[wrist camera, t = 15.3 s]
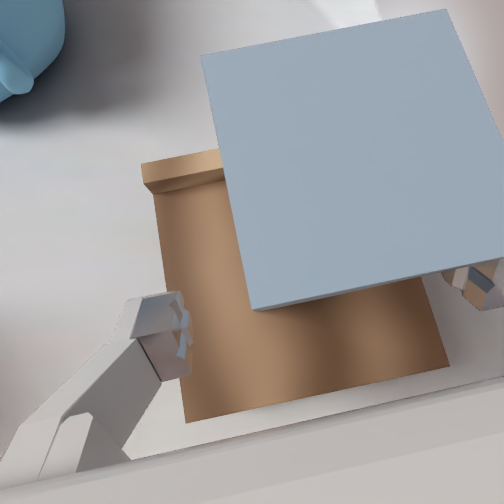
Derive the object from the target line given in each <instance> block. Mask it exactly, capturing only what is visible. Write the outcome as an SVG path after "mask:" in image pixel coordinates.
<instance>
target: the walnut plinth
mask: <svg viewBox="0 0 504 504" xmlns="http://www.w3.org/2000/svg"><path fill="white" fill-rule="evenodd" d="M141 169H142V177H143V184H144V185H145V186H146V187H147V188H148V189H149V190H150V191H151V193H152V194H153V197H154V204H155V211H156V218H157V225H158V232H159V239H160V246H161V253H162V260H163V267H164V274H165V281H166V288H167V292H170V291H175V290H179V291H180V292H181V294H182V296H183V299H184V309H186V310H187V311H189V314H190V317H191V321H192V325H193V334H194V335H193V343H192V344H191V346H190V349H191V351H192V354H193V359H192V375H188V376H184V377H180V378H179V379H180V386H181V393H182V400H183V407H184V414H185V421H186V423H190V422H195V421H200V420H204V419H209V418H214V417H218V416H223V415H227V414H232V413H237V412H241V411H246V410H250V409H255V408H260V407H264V406H269V405H274V404H278V403H283V402H287V401H292V400H297V399H301V398H306V397H311V396H315V395H320V394H324V393H329V392H334V391H338V390H343V389H347V388H352V387H357V386H361V385H366V384H371V383H375V382H380V381H384V380H389V379H394V378H398V377H403V376H407V375H412V374H417V373H421V372H426V371H431V370H435V369H440V368H444V367H449V366H450V365H449V362H448V359H447V356H446V353H445V350H444V347H443V344H442V341H441V338H440V335H439V331H438V328H437V325H436V322H435V319H434V316H433V313H432V310H431V307H430V304H429V301H428V298H427V295H426V292H425V289H424V286H423V283H422V280H421V277H420V276H419V277H415V278H411V279H406V280H402V281H397V282H393V283H389V284H384V285H380V286H376V287H371V288H367V289H362V290H358V291H354V292H349V293H345V294H340V295H336V296H331V297H326V298H322V299H317V300H312V301H307V302H303V303H298V304H293V305H288V306H284V307H279V308H274V309H269V310H265V311H260V312H256V311H254V310H252V308H251V303H250V299H249V294H248V289H247V284H246V279H245V274H244V269H243V264H242V259H241V254H240V249H239V244H238V239H237V234H236V229H235V224H234V219H233V214H232V209H231V204H230V199H229V194H228V190H227V185H226V180H225V175H224V170H223V165H222V160H221V155H220V150H219V149H214V150H209V151H204V152H199V153H194V154H189V155H184V156H179V157H173V158H168V159H163V160H158V161H153V162H148V163H143V164H141Z"/></svg>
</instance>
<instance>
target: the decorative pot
mask: <svg viewBox="0 0 504 504" xmlns="http://www.w3.org/2000/svg"><path fill="white" fill-rule="evenodd" d="M64 38H65V16H64V8H63V3H62V0H0V102H2V101H3V100H5V99H7V98H8V97H10V96H11V95H13V94H24V93H27V92H29V91H30V90H31V89H32V87H33V84H34V79H35V78H36V77H37V76H38V75H39V74H41V73H42V72H43V71H44V70H45V69H46V68H47V67H48V66H49V65H50V64H51V63H52V62H53V61H54V60H55V59H56V57H57V56H58V54H59V53H60V51H61V49H62V47H63V44H64Z"/></svg>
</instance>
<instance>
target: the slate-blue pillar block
mask: <svg viewBox="0 0 504 504" xmlns="http://www.w3.org/2000/svg"><path fill="white" fill-rule="evenodd" d="M201 61H202V66H203V71H204V76H205V81H206V85H207V90H208V95H209V100H210V105H211V110H212V115H213V120H214V125H215V130H216V135H217V140H218V145H219V150H220V155H221V160H222V165H223V170H224V175H225V180H226V185H227V190H228V194H229V199H230V204H231V209H232V214H233V219H234V224H235V229H236V234H237V239H238V244H239V249H240V254H241V259H242V264H243V269H244V274H245V279H246V284H247V289H248V294H249V299H250V303H251V308H252V310H254V311H256V312H260V311H265V310H269V309H274V308H279V307H284V306H288V305H293V304H298V303H303V302H307V301H312V300H317V299H322V298H326V297H331V296H336V295H340V294H345V293H349V292H354V291H358V290H362V289H367V288H371V287H376V286H380V285H384V284H389V283H393V282H397V281H402V280H406V279H411V278H415V277H419V276H424V275H428V274H433V273H437V272H441V271H446V270H450V269H455V268H459V267H463V266H468V265H472V264H477V263H481V262H485V261H490V260H494V259H499V258H503V257H504V142H503V139H502V137H501V135H500V132H499V130H498V128H497V126H496V123H495V121H494V118H493V116H492V114H491V111H490V109H489V107H488V105H487V102H486V100H485V98H484V95H483V93H482V91H481V88H480V86H479V84H478V81H477V79H476V77H475V74H474V72H473V70H472V67H471V65H470V63H469V60H468V58H467V56H466V53H465V51H464V49H463V47H462V44H461V42H460V40H459V37H458V35H457V33H456V31H455V28H454V26H453V23H452V21H451V19H450V17H449V14H448V12H447V10H446V9H441V10H436V11H431V12H426V13H420V14H416V15H411V16H405V17H400V18H394V19H389V20H384V21H379V22H373V23H368V24H363V25H358V26H353V27H347V28H342V29H337V30H332V31H327V32H321V33H316V34H311V35H306V36H301V37H295V38H290V39H285V40H280V41H274V42H269V43H264V44H259V45H254V46H248V47H243V48H238V49H233V50H228V51H222V52H217V53H212V54H207V55H202V56H201Z"/></svg>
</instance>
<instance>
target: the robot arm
mask: <svg viewBox="0 0 504 504" xmlns="http://www.w3.org/2000/svg"><path fill="white" fill-rule="evenodd" d="M441 274H442V276H443V277H444V279H445V281H447V282H448V283H449V284H450V285H451V286H453V287H456V288H458V289H461V290H462V296H463V297H464V298H466V299H467V300H468V301H469V302H470V303H471V304H472V305H474V306H475V307H476V308H477V309H478V310H479V311H484V310H489V309H495V308H500V307H504V257H503V258H499V259H494V260H490V261H485V262H481V263H477V264H472V265H468V266H463V267H459V268H455V269H450V270H446V271H441ZM193 335H194V334H193V325H192V321H191V317H190V314H189V311H187V310H186V309H184V299H183V296H182V294H181V292H180V291H179V290H175V291H170V292H165V293H160V294H154V295H149V296H145V297H139V298H134V299H130V300H127V301H126V302H125V303H124V305H123V308H122V311H121V314H120V316H119V319H118V322H117V325H116V328H115V331H114V333H113V336H112V339H111V342H110V344H107V345H104V346H103V347H102V348H101V349H100V350H99V351H98V352H96V353H95V354H94V355H93V356H92V357H91V358H90V359H89V360H88V361H87V362H86V363H85V364H84V365H83V366H82V367H81V368H80V369H79V370H78V371H77V372H75V373H74V374H73V375H72V376H71V377H70V378H69V379H68V380H67V381H66V382H65V383H64V384H63V385H62V386H61V387H60V388H59V389H58V390H57V391H56V392H54V393H53V394H52V395H51V396H50V397H49V398H48V399H47V400H46V401H45V402H44V403H43V404H42V405H41V406H40V407H39V408H38V409H37V410H36V411H35V412H33V413H32V414H31V415H30V416H29V417H28V418H27V419H26V420H25V421H24V422H23V423H22V424H21V425H20V426H19V428H18V430H17V432H16V434H15V436H14V437H13V439H12V441H11V443H10V445H9V447H8V449H7V451H6V453H5V455H4V456H3V458H2V460H1V462H0V504H504V376H501V377H497V378H493V379H488V380H484V381H479V382H475V383H471V384H466V385H462V386H457V387H453V388H449V389H444V390H440V391H435V392H431V393H427V394H422V395H418V396H413V397H409V398H404V399H400V400H396V401H391V402H387V403H382V404H378V405H374V406H369V407H365V408H360V409H356V410H352V411H347V412H343V413H338V414H334V415H330V416H325V417H321V418H316V419H312V420H307V421H303V422H299V423H294V424H290V425H285V426H281V427H277V428H272V429H268V430H263V431H259V432H254V433H250V434H246V435H241V436H237V437H232V438H228V439H223V440H219V441H215V442H210V443H206V444H201V445H197V446H192V447H188V448H184V449H179V450H175V451H170V452H166V453H162V454H157V455H153V456H148V457H144V458H139V459H135V460H131V459H130V458H129V457H128V456H127V455H126V454H125V452H124V451H123V450H122V447H123V446H124V444H125V442H126V441H127V439H128V438H129V436H130V434H131V433H132V431H133V430H134V428H135V426H136V425H137V423H138V422H139V420H140V418H141V417H142V415H143V413H144V412H145V410H146V409H147V407H148V405H149V404H150V402H151V401H152V399H153V397H154V396H155V394H156V393H157V391H158V389H159V388H160V386H161V384H162V383H161V382H164V381H168V380H172V379H176V378H180V377H184V376H188V375H192V359H193V354H192V351H191V349H190V346H191V344H192V343H193Z"/></svg>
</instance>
